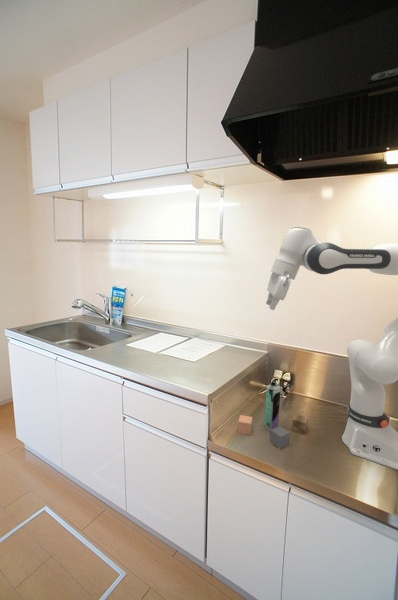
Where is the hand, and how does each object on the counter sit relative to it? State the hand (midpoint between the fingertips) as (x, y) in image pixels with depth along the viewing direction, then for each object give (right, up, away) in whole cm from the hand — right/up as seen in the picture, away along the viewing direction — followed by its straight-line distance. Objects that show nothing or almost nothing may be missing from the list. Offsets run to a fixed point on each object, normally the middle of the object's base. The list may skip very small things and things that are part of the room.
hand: (269, 306), depth 110 cm
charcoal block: (+5, -52, +4) cm, 53 cm away
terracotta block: (-7, -51, +12) cm, 53 cm away
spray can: (+4, -51, +15) cm, 53 cm away
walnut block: (+15, -51, +13) cm, 55 cm away
